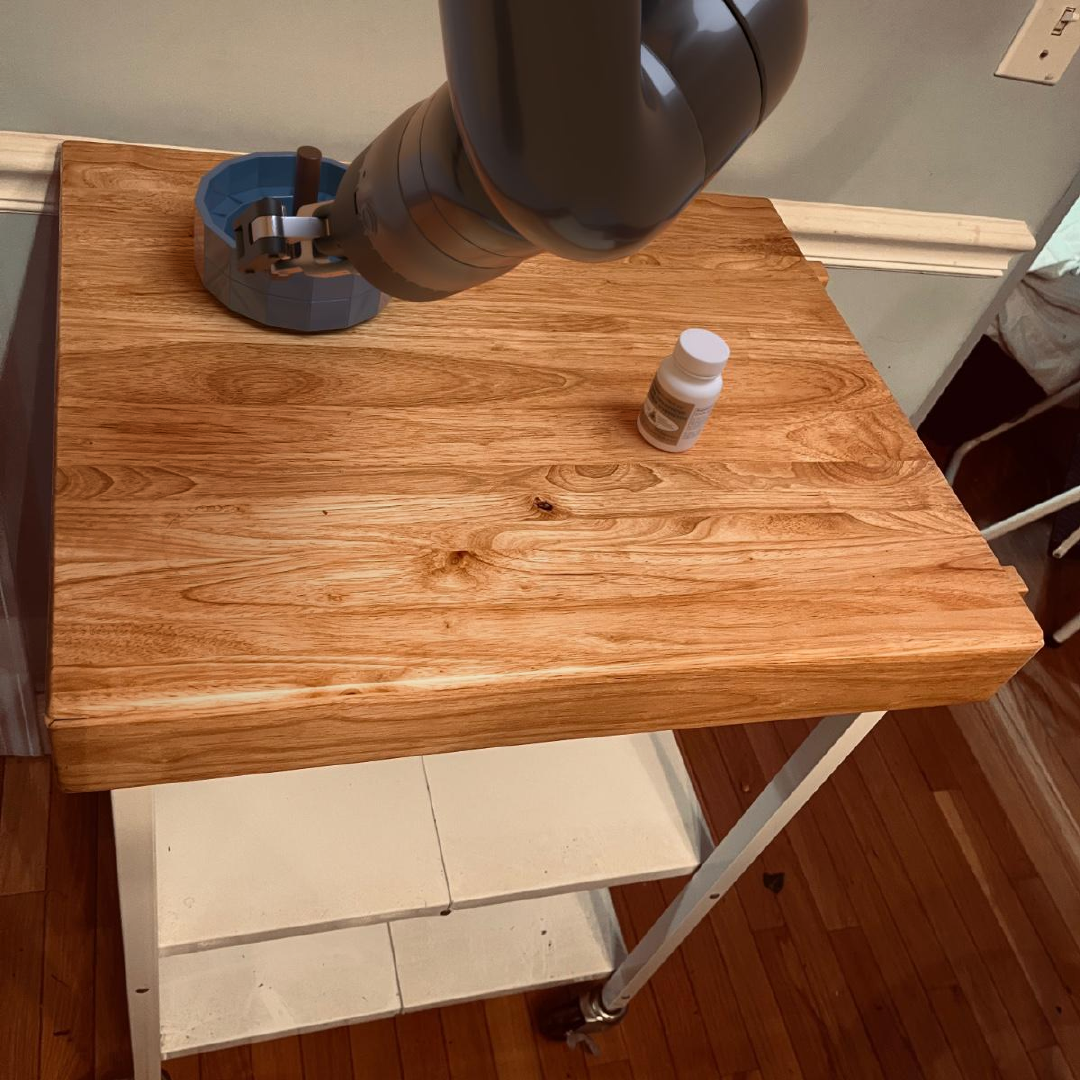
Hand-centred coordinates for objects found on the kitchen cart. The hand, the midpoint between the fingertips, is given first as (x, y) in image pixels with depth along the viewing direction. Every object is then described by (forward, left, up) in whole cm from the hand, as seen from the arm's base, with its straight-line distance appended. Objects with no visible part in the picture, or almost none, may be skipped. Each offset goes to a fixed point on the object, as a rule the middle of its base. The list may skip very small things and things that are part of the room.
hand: (350, 261), depth 60 cm
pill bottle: (+17, -15, -11) cm, 25 cm away
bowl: (+6, +11, -11) cm, 17 cm away
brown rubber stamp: (+6, +11, -10) cm, 16 cm away
